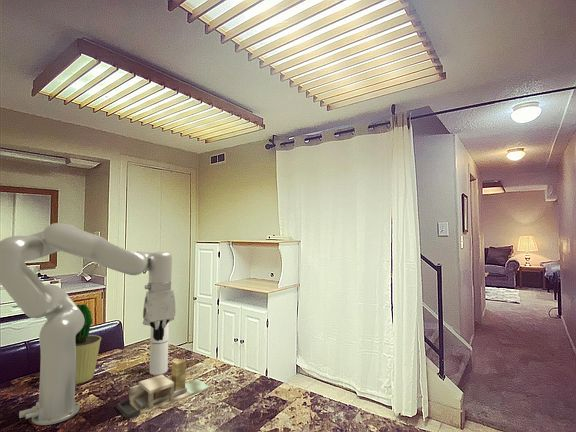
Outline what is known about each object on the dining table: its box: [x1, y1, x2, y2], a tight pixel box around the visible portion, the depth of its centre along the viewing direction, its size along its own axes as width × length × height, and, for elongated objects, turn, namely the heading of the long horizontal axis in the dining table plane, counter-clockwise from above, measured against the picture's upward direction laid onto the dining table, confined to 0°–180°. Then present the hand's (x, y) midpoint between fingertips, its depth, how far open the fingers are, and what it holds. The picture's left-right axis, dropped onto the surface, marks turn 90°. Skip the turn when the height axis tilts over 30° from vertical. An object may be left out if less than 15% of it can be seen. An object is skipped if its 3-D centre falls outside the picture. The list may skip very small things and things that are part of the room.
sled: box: [134, 358, 187, 408], centre depth 117 cm, size 16×6×11 cm, turn 136°
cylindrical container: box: [149, 321, 170, 376], centre depth 141 cm, size 7×7×25 cm
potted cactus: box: [75, 303, 102, 385], centre depth 134 cm, size 15×15×30 cm
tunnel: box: [116, 374, 211, 420], centre depth 118 cm, size 30×10×6 cm, turn 136°
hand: (158, 339), depth 116 cm, fingers closed
